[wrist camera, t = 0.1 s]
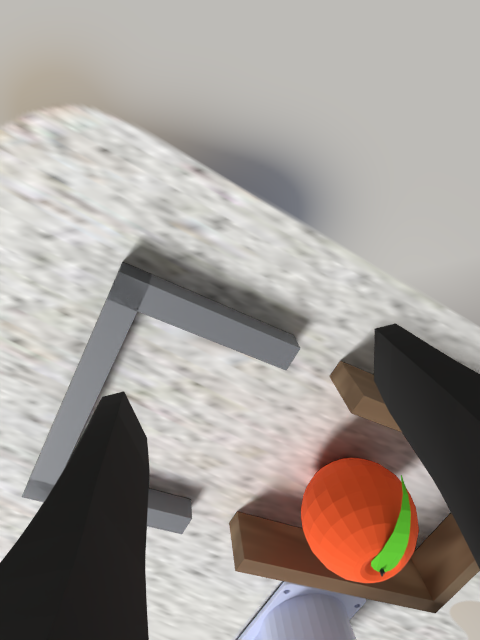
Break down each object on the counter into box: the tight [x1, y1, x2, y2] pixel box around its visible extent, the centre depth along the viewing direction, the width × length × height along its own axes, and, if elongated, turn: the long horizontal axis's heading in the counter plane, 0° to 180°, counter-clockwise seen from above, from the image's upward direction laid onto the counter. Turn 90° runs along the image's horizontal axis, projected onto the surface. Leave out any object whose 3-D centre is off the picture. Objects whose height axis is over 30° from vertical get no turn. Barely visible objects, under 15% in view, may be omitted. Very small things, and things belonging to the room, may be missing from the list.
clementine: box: [301, 458, 419, 583], centre depth 26 cm, size 8×7×7 cm
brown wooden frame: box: [229, 361, 480, 613], centre depth 28 cm, size 14×17×4 cm
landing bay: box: [22, 262, 300, 534], centre depth 24 cm, size 15×10×2 cm, turn 152°
